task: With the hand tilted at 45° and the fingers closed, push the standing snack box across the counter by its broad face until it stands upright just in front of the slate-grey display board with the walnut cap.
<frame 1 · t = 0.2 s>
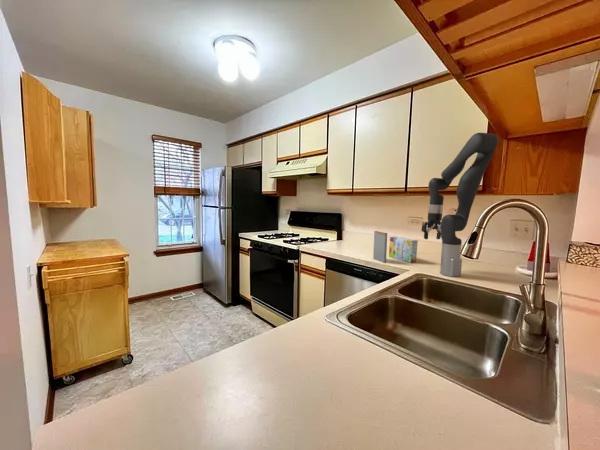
hand: (432, 239, 156), 18 cm above the countertop, tool pointing down, fingers open, 8 cm apart
snack box: (401, 259, 181), on the countertop
display board: (379, 260, 176), on the countertop
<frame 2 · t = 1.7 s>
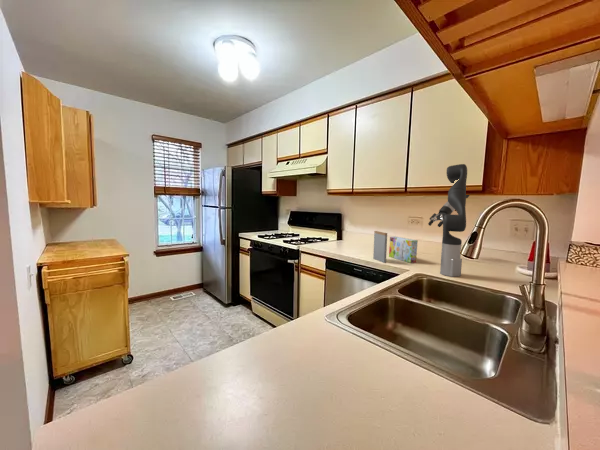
hand: (433, 225, 184), 24 cm above the countertop, tool tilted 45°, fingers open, 8 cm apart
nothing on the countertop moved.
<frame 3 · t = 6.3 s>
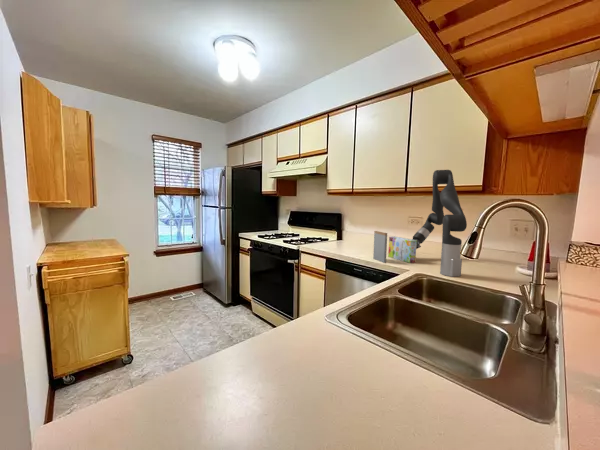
hand: (405, 253, 181), 4 cm above the countertop, tool tilted 45°, fingers closed
nothing on the countertop moved.
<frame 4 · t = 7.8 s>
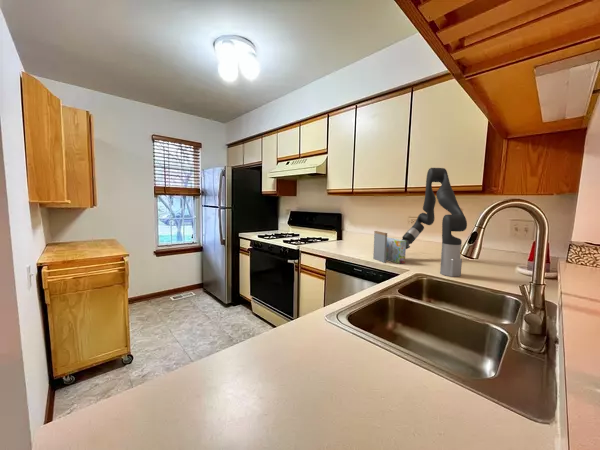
hand: (394, 253, 179), 4 cm above the countertop, tool tilted 45°, fingers closed
snack box: (390, 260, 178), on the countertop, touching gripper
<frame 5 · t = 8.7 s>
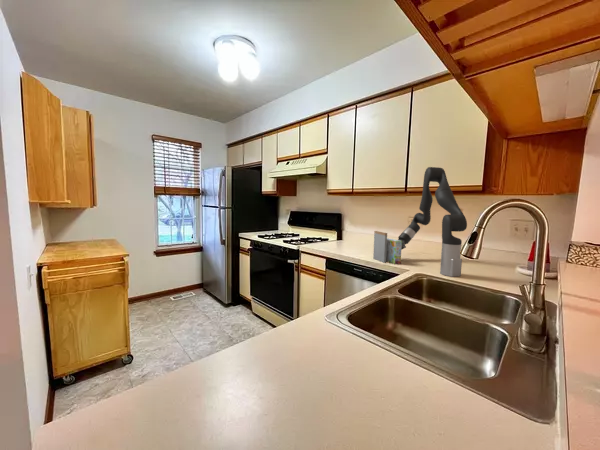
hand: (390, 253, 178), 4 cm above the countertop, tool tilted 45°, fingers closed
snack box: (386, 260, 177), on the countertop, touching gripper
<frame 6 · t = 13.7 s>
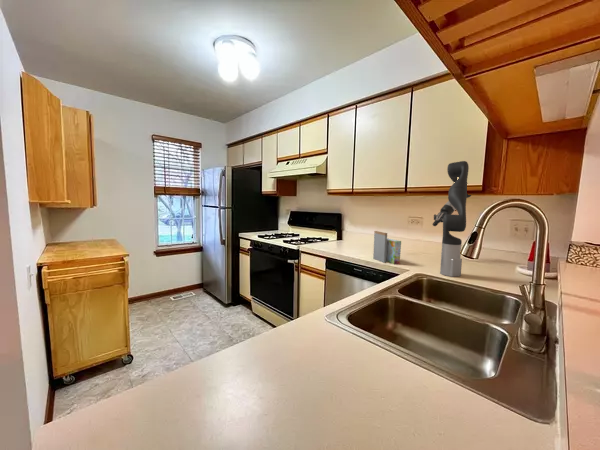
hand: (433, 225, 181), 24 cm above the countertop, tool tilted 45°, fingers closed
snack box: (386, 260, 177), on the countertop
at the end: snack box inside the target area (1.7 cm from its centre), on the countertop; snack box tilted 0°; snack box moved 12.9 cm from its start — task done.
